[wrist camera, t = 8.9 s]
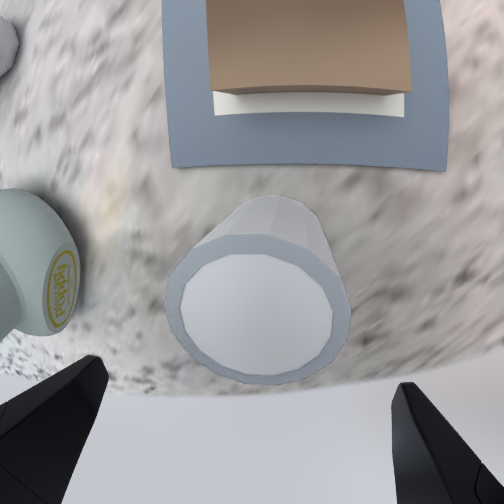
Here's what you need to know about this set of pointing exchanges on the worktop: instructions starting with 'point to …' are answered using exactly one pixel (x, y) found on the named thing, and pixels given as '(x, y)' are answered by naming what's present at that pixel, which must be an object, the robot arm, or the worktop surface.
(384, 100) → the board
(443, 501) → the robot arm
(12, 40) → the salt shaker
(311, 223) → the white cup
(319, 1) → the walnut block
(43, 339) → the worktop surface
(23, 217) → the air freshener
